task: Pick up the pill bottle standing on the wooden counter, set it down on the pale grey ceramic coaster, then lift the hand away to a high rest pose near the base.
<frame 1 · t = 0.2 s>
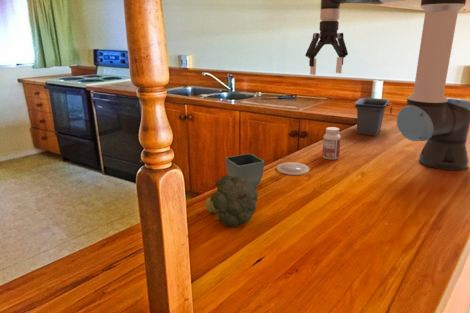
hand: (325, 73, 158), 28 cm above the worktop, fingers open, 13 cm apart
vegetable: (229, 219, 93), on the worktop
flower pot: (244, 188, 112), on the worktop
storage bin: (371, 132, 175), on the worktop
pill bottle: (330, 158, 139), on the worktop
coaster: (292, 169, 127), on the worktop
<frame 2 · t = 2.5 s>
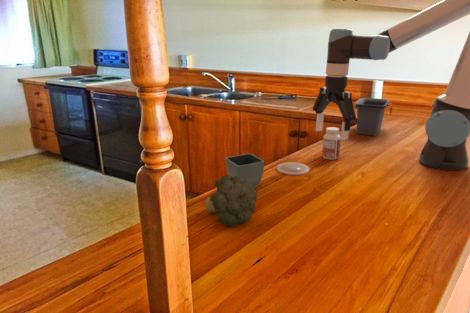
hand: (331, 134, 136), 9 cm above the worktop, fingers open, 13 cm apart
nothing on the worktop moved.
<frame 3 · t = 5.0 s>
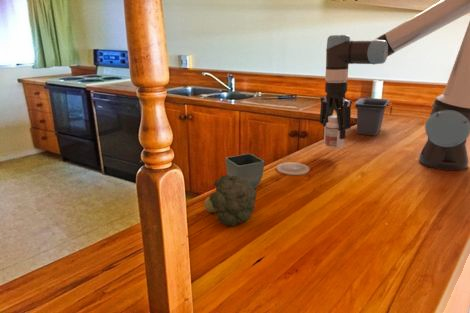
hand: (333, 145, 137), 5 cm above the worktop, fingers closed on pill bottle, 6 cm apart
pill bottle: (333, 146, 137), point 4 cm above the worktop, touching gripper
everything else where it was.
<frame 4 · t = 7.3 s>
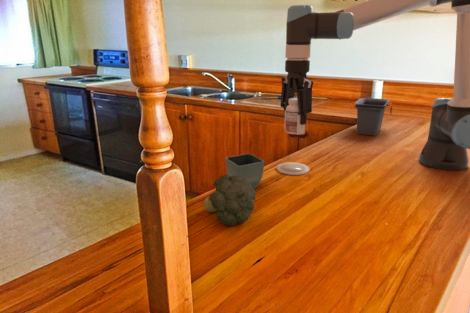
hand: (294, 131, 123), 13 cm above the worktop, fingers closed on pill bottle, 6 cm apart
pill bottle: (294, 132, 123), point 13 cm above the worktop, touching gripper
everything else where it was.
when the fingers open (2 cm above the worktop, at t = 9.9 s): pill bottle drops 1 cm, resting on coaster.
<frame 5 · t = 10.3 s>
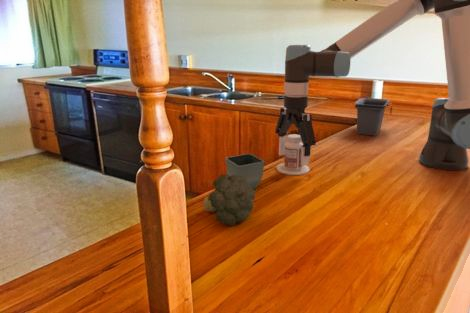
hand: (293, 159, 126), 4 cm above the worktop, fingers open, 12 cm apart
pill bottle: (293, 168, 127), point 1 cm above the worktop, touching coaster
everything else where it was.
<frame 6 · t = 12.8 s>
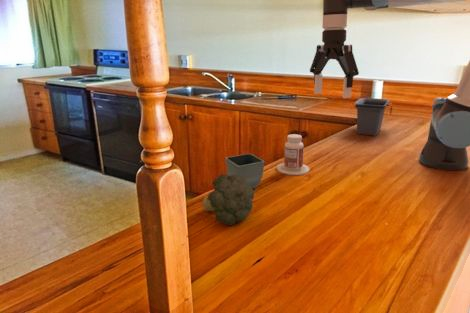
hand: (331, 95, 126), 24 cm above the worktop, fingers open, 13 cm apart
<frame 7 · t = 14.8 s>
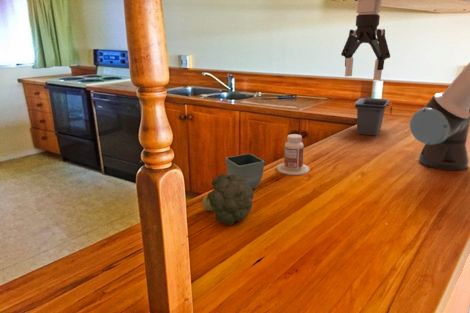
hand: (362, 78, 133), 29 cm above the worktop, fingers open, 13 cm apart
at the end: pill bottle inside the target area on the coaster (0.1 cm from its centre), point 0.5 cm above the coaster's base; pill bottle tilted 0°; the gripper is holding nothing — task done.
